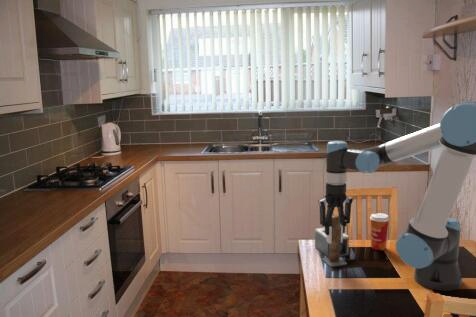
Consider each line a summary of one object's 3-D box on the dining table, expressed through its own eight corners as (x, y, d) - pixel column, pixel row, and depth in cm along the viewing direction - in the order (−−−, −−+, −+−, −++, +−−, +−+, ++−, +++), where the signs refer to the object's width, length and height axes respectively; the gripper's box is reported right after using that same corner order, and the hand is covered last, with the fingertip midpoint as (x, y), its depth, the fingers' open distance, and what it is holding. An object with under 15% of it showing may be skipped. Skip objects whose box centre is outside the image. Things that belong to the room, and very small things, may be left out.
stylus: (336, 256, 172) (337, 214, 169) (341, 260, 168) (342, 217, 165) (326, 257, 171) (327, 215, 168) (331, 261, 167) (332, 219, 164)
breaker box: (315, 246, 185) (315, 228, 184) (334, 244, 188) (334, 226, 186) (327, 257, 174) (328, 238, 172) (348, 255, 176) (348, 236, 175)
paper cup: (365, 245, 185) (366, 213, 183) (380, 243, 188) (382, 211, 185) (376, 252, 178) (377, 219, 175) (392, 250, 180) (393, 217, 178)
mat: (338, 257, 174) (338, 256, 174) (346, 264, 167) (346, 263, 167) (321, 259, 172) (322, 258, 172) (330, 267, 166) (330, 265, 165)
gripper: (351, 178, 170) (349, 236, 174) (310, 182, 165) (309, 240, 170) (361, 183, 162) (359, 242, 167) (319, 186, 158) (318, 248, 163)
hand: (334, 241), depth 168 cm, fingers closed on stylus, 4 cm apart
